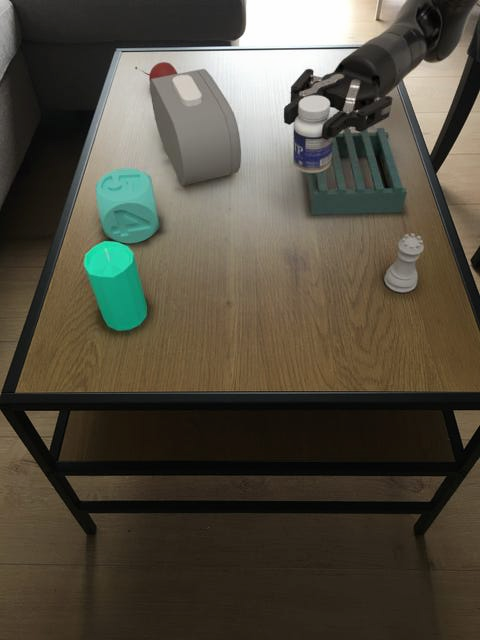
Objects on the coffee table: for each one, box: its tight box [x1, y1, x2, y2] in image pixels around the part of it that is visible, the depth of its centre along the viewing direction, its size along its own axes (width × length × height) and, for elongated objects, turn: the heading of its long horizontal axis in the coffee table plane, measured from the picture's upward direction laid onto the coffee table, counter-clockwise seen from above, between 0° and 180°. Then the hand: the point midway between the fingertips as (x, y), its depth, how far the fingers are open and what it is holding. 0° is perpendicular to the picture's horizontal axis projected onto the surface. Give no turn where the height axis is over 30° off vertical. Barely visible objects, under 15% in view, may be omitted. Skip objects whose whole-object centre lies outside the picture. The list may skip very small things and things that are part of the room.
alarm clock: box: [149, 68, 242, 186], centre depth 89 cm, size 21×10×13 cm, turn 19°
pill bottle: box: [293, 95, 333, 174], centre depth 72 cm, size 5×5×9 cm
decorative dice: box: [95, 167, 160, 244], centre depth 81 cm, size 8×8×8 cm
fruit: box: [134, 61, 179, 82], centre depth 107 cm, size 6×6×8 cm
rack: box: [305, 127, 408, 216], centre depth 87 cm, size 14×16×5 cm
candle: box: [83, 240, 148, 332], centre depth 68 cm, size 6×6×12 cm
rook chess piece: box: [383, 233, 425, 294], centre depth 72 cm, size 4×4×8 cm
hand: (305, 124), depth 69 cm, fingers closed on pill bottle, 5 cm apart
